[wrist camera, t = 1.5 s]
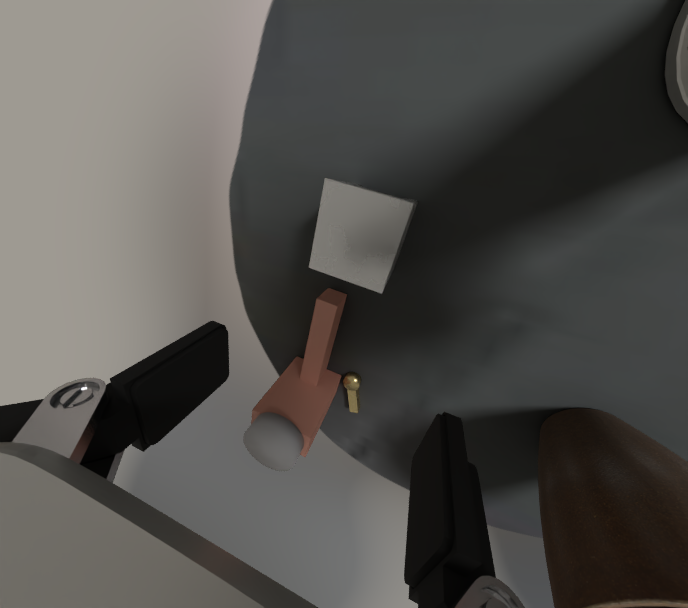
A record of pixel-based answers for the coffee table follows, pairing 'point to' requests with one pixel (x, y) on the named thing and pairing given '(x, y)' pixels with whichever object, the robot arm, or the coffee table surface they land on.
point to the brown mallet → (298, 394)
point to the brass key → (353, 390)
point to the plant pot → (611, 514)
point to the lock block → (359, 233)
